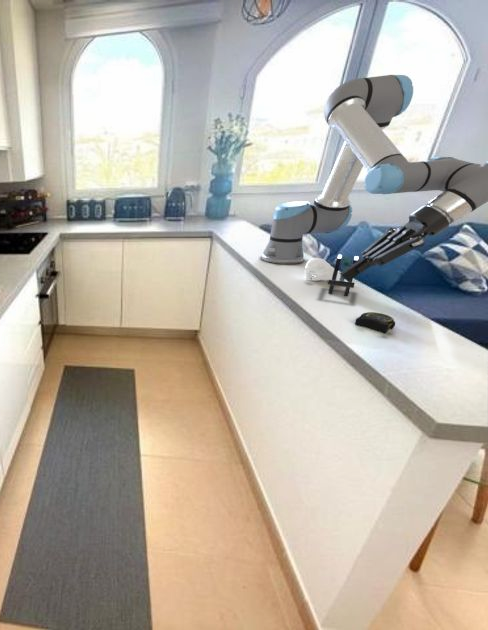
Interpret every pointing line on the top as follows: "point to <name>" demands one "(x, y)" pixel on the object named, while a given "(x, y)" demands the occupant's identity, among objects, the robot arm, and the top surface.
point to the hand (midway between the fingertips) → (343, 277)
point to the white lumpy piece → (319, 270)
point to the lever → (345, 264)
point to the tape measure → (375, 321)
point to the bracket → (337, 272)
